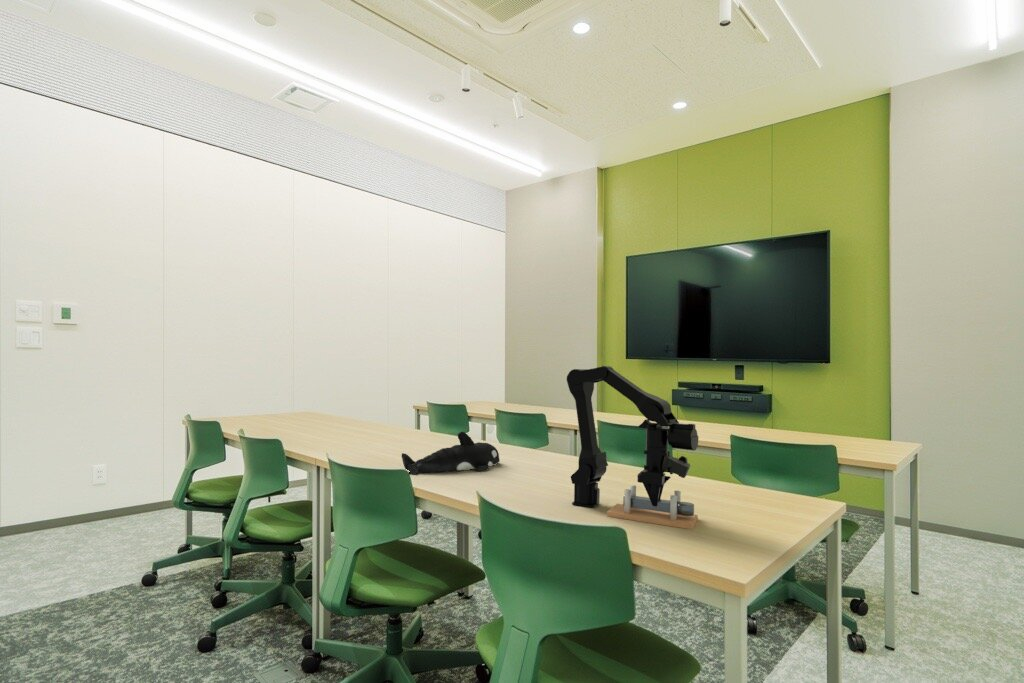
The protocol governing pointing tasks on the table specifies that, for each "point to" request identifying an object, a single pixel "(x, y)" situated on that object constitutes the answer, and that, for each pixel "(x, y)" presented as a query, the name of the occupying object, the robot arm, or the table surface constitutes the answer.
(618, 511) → the peg rack
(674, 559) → the table surface
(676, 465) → the robot arm
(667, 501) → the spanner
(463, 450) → the orca plush
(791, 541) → the table surface
